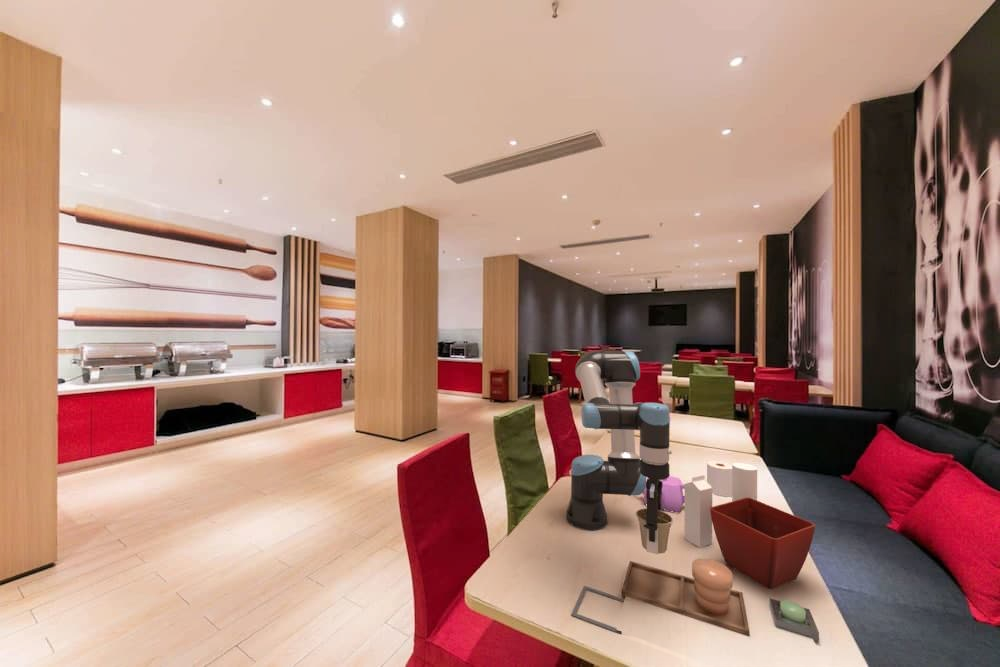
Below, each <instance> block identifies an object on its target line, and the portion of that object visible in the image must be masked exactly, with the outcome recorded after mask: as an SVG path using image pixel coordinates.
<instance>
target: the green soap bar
mask: <svg viewBox="0 0 1000 667" xmlns="http://www.w3.org/2000/svg"><path fill="white" fill-rule="evenodd" d="M780 601H781V602H780V611H779V612H780V615H781V618H784V619H788V620H791V621H794V622H798V623H801V624H805V625H807V624H806V611H805V609H804V608H805V607H804V606H801V605H800V604H798V603H797V602H795V601H792V600H787V599H784V600H780Z"/></svg>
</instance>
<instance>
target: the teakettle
mask: <svg viewBox="0 0 1000 667" xmlns="http://www.w3.org/2000/svg"><path fill="white" fill-rule="evenodd" d="M647 479H649V478H647V477H646V482H647ZM661 481H662V482H663V486H662V495H661V504H662V506H661V508H662V509H665V510H668V511H667V512H669V511H673V512H672V513H674V512H679V511H680V512H681V509H682V507H683V504H685V495H684V490H685V484H686V483H682V481H681V479H680V478H678V477H674V476H671V474H670V473H669V477H668V478H667V479H661ZM646 490H647V489H646V485H645V489H644V491H643V493H642V495H643V503H644V505H645V504H647V498H646ZM680 512H679V513H680Z"/></svg>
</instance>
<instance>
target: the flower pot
mask: <svg viewBox="0 0 1000 667" xmlns="http://www.w3.org/2000/svg"><path fill="white" fill-rule="evenodd" d="M646 512H647V508H640V509H637V510H636V512H635V516H636V517H637V521H638V525H639V531H640V540H641V545H642V547H643V549H645V550H646V551H647V528H646V527H644V525H646ZM673 523H674V518H673V516H672V515H670V514H669V513H667V512H666V511H664V512H663V511H660V510H658V521H657V527H658V554H659V555H660V554H665V552H667V551H668V544H669V535H670V530H671V527H672V524H673ZM658 554H657V555H658Z"/></svg>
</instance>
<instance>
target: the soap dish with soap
mask: <svg viewBox="0 0 1000 667" xmlns="http://www.w3.org/2000/svg"><path fill="white" fill-rule="evenodd" d="M781 601H782V600H779V599H778V600H777V599H774V598H771V597H770V598H769V608H770V612H771V615H772V616H771V617H772V619H773V622H774V626H775V627H776V628H778V629H782V630H785V631H788V632H791V633H795V634H798V635H801V636H805V637H808V638H811V639H813V642H814V643H816V642H817V644H820V631H819V629H818V626H817V625H816V622H815V619H814V617H813V615H812V612H811V609H810V608H806V607H803V608H804V609H805V611H806V625H805V624H801V623H798V622H794V621H791V620H788V619H784V618H781V615H780V602H781Z"/></svg>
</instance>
